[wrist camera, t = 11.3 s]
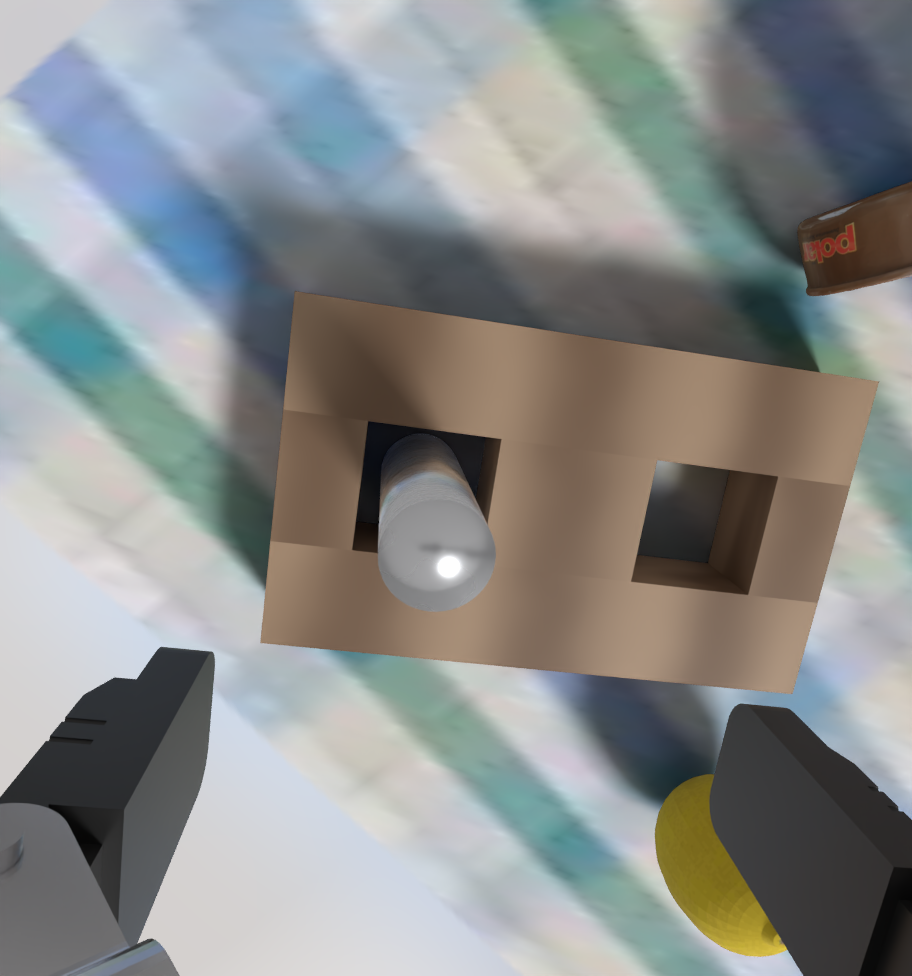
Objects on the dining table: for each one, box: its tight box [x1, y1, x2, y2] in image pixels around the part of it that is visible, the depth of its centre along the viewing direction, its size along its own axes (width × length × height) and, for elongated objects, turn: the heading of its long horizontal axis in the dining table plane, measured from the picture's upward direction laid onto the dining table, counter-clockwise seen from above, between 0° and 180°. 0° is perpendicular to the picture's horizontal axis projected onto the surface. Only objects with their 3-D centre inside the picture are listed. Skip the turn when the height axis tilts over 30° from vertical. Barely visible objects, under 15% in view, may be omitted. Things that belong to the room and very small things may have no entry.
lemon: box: [655, 774, 787, 957], centre depth 29 cm, size 6×6×8 cm
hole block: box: [260, 291, 879, 694], centre depth 27 cm, size 20×12×4 cm, turn 81°
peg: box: [378, 434, 496, 612], centre depth 23 cm, size 3×3×10 cm
